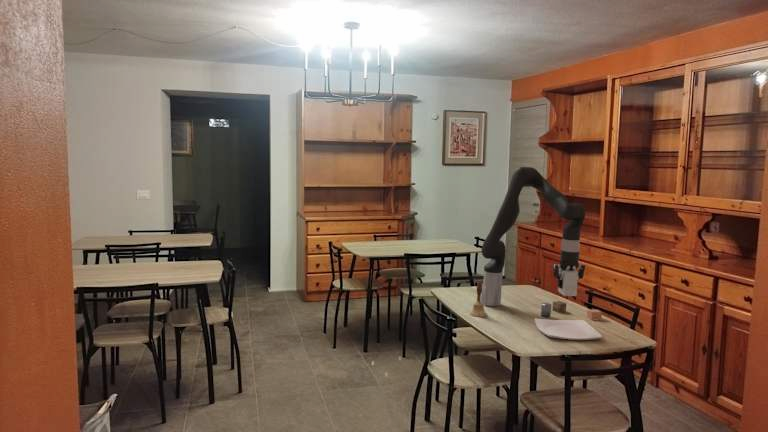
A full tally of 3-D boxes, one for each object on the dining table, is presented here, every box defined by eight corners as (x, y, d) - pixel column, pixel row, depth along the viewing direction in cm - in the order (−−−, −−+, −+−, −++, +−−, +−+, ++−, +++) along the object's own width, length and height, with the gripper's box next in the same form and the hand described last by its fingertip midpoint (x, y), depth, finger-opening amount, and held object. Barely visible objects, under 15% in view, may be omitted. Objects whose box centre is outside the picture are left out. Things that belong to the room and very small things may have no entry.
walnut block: (558, 313, 254) (559, 304, 253) (552, 310, 258) (553, 301, 257) (565, 312, 255) (566, 303, 255) (559, 309, 259) (560, 301, 259)
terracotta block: (591, 320, 243) (592, 312, 243) (586, 317, 247) (587, 309, 247) (601, 320, 244) (601, 311, 243) (596, 317, 248) (597, 309, 247)
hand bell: (466, 312, 249) (467, 280, 248) (481, 311, 252) (482, 279, 251) (474, 317, 242) (476, 284, 240) (490, 316, 245) (492, 283, 243)
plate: (530, 323, 237) (531, 317, 237) (584, 325, 236) (585, 319, 236) (545, 341, 213) (546, 335, 212) (606, 343, 212) (606, 337, 212)
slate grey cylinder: (543, 317, 244) (544, 305, 244) (539, 315, 249) (540, 303, 248) (552, 317, 245) (553, 305, 245) (547, 315, 249) (548, 302, 249)
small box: (576, 296, 219) (578, 272, 218) (563, 296, 219) (565, 271, 218) (570, 291, 227) (572, 268, 226) (557, 291, 227) (559, 267, 226)
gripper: (558, 251, 217) (556, 290, 218) (590, 251, 219) (587, 290, 221) (550, 248, 224) (547, 286, 226) (581, 248, 226) (578, 285, 228)
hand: (567, 287), depth 223 cm, fingers closed on small box, 6 cm apart
